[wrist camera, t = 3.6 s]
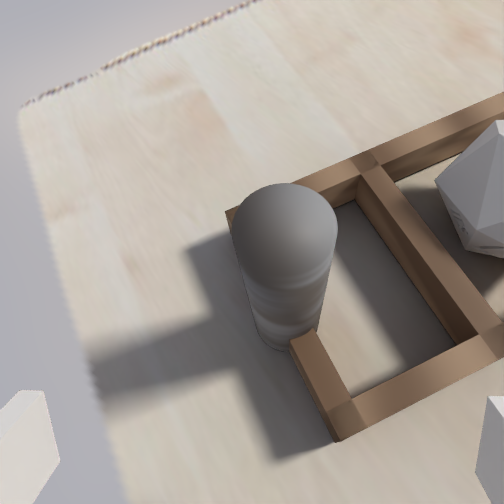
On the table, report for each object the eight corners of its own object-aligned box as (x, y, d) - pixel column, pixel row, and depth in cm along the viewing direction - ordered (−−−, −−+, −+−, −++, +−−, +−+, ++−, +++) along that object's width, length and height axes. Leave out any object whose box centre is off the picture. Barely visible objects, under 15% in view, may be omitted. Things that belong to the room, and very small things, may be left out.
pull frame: (495, 118, 32) (599, -53, 21) (657, 275, 25) (927, 145, 15) (214, 240, 29) (170, 116, 18) (315, 453, 23) (336, 452, 12)
